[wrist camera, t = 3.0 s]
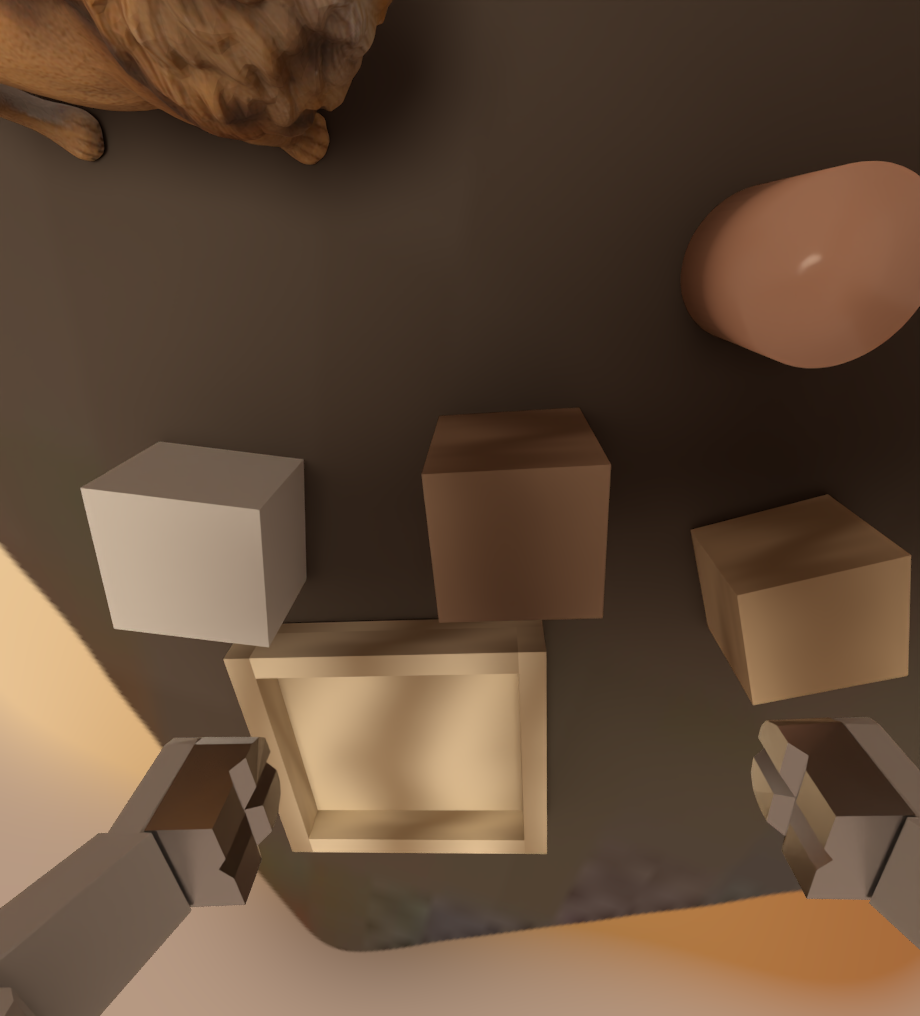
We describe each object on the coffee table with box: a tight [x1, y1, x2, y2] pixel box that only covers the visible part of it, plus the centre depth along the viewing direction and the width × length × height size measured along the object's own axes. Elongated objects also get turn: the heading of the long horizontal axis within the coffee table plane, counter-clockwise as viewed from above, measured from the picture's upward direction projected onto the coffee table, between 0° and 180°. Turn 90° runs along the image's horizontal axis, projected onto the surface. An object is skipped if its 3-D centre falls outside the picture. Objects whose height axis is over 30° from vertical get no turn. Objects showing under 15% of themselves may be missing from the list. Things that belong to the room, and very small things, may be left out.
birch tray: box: [223, 619, 547, 854], centre depth 23 cm, size 12×12×2 cm
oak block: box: [691, 494, 911, 705], centre depth 17 cm, size 4×4×4 cm
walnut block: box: [421, 407, 611, 623], centre depth 16 cm, size 4×4×5 cm
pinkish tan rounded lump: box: [681, 161, 920, 368], centre depth 13 cm, size 4×4×4 cm
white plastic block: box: [81, 441, 307, 647], centre depth 17 cm, size 5×5×4 cm
